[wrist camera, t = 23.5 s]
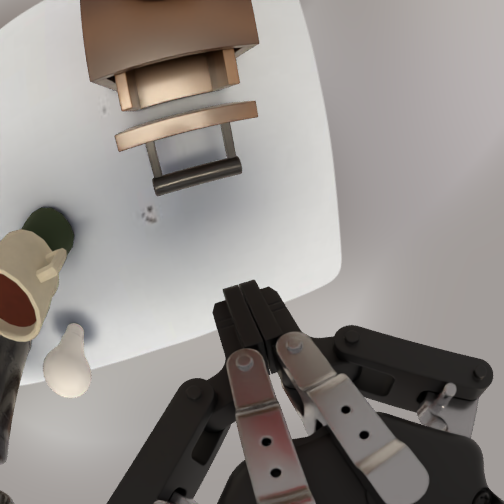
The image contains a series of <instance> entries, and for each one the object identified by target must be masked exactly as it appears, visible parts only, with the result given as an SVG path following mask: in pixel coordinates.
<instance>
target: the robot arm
mask: <svg viewBox="0 0 504 504" xmlns="http://www.w3.org/2000/svg"><path fill="white" fill-rule="evenodd" d="M223 293H224V296H225V301H222V302H218V303H215V305H214V309H213V316H214V319H215V323H216V326H217V329H218V333H219V336H220V340H221V343H222V346H223V349H224V353H225V357H226V360H225V365H224V366H223V368H222V370H221V371H220V372H219V373H218V374H216V375H215V376H214V377H212V378H210V379H208V380H204V379H201V378H195V379H190V380H188V381H186V382H184V383H183V384H182V385H181V386H180V387H179V389H178V391H177V392H176V394H175V395H174V397H173V399H172V400H171V402H170V404H169V405H168V407H167V408H166V410H165V412H164V413H163V415H162V416H161V418H160V420H159V421H158V423H157V424H156V426H155V428H154V429H153V431H152V432H151V434H150V436H149V437H148V439H147V441H146V442H145V444H144V445H143V447H142V448H141V450H140V452H139V453H138V455H137V457H136V458H135V460H134V461H133V463H132V465H131V466H130V468H129V469H128V471H127V472H126V474H125V476H124V477H123V479H122V480H121V482H120V483H119V485H118V487H117V488H116V490H115V491H114V493H113V495H112V496H111V498H110V499H109V501H108V502H107V504H198V503H197V502H196V501H194V500H193V497H194V496H195V494H196V492H197V490H198V489H199V487H200V484H201V483H202V481H203V479H204V477H205V476H206V474H207V472H208V470H209V468H210V466H211V464H212V462H213V460H214V458H215V456H216V454H217V452H218V450H219V449H220V447H221V445H222V443H223V440H224V438H225V436H226V434H227V432H228V430H229V428H230V426H231V424H232V423H233V422H235V421H236V423H237V427H238V431H239V436H240V440H241V444H242V448H243V452H244V456H245V460H244V461H243V462H241V464H239V465H238V466H237V467H236V469H235V470H234V471H233V472H232V474H231V475H230V477H229V479H228V481H227V483H226V486H225V488H224V490H223V492H222V494H221V496H220V499H219V501H218V503H217V504H504V501H503V500H501V499H500V498H499V497H497V496H496V495H495V494H494V493H493V492H492V491H491V490H490V489H489V488H488V486H487V483H486V479H485V474H484V462H483V454H482V451H481V449H480V447H479V446H478V445H477V443H476V442H475V441H474V440H472V439H471V435H472V431H473V426H474V421H475V416H476V411H477V405H478V399H479V397H480V396H481V394H482V393H483V392H484V391H485V390H486V389H487V387H488V386H489V385H490V384H491V382H492V379H493V371H492V368H491V367H490V365H489V364H488V363H487V362H486V361H484V360H482V359H478V358H474V357H469V356H466V355H461V354H457V353H453V352H449V351H445V350H442V349H437V348H434V347H430V346H426V345H422V344H419V343H415V342H411V341H407V340H404V339H400V338H396V337H393V336H390V335H386V334H382V333H379V332H376V331H372V330H369V329H365V328H362V327H359V326H354V325H349V326H345V327H342V328H341V329H339V330H338V331H337V332H336V334H335V336H334V337H326V338H313V337H309V336H308V335H306V334H304V333H303V332H301V330H300V329H299V327H298V326H297V324H296V322H295V321H294V319H293V317H292V316H291V314H290V312H289V311H288V309H287V308H286V306H285V304H284V302H283V301H282V299H281V298H280V296H279V294H278V293H277V292H276V291H275V290H273V289H272V288H270V287H266V288H263V289H259V287H258V285H257V283H256V281H255V280H251V281H248V282H244V283H241V284H239V286H238V285H235V286H232V287H228V288H225V289H223ZM30 348H31V341H26V342H19V341H14V340H11V339H8V338H5V337H4V336H2V335H0V464H4V463H5V462H6V460H7V455H8V445H9V437H10V430H11V423H12V417H13V412H14V406H15V402H16V397H17V393H18V388H19V384H20V380H21V376H22V373H23V369H24V366H25V362H26V359H27V356H28V353H29V351H30ZM269 369H270V371H271V373H272V374H273V373H276V372H278V374H279V377H280V379H281V384H282V387H283V389H284V391H285V392H286V394H287V396H288V398H289V399H290V401H291V403H292V405H293V406H294V408H295V410H296V411H297V413H298V415H299V416H300V418H301V420H302V422H303V424H304V427H305V430H306V432H307V434H308V437H305V438H298V439H291V436H290V433H289V430H288V427H287V424H286V421H285V418H284V416H283V413H282V410H281V407H280V404H279V402H278V401H277V398H276V395H275V392H274V389H273V386H272V383H271V380H270V377H269V375H270V371H269ZM364 397H366V398H369V399H372V400H376V401H379V402H382V403H385V404H388V405H392V406H395V407H399V408H402V409H405V410H409V411H413V412H417V414H418V418H419V420H420V422H421V424H423V425H421V424H418V423H415V422H411V421H408V420H405V419H402V418H399V417H396V416H393V415H390V414H387V413H382V412H375V411H374V409H373V408H372V407H371V406H370V404H369V403H368V402H367V400H366V399H365V398H364ZM425 425H426V426H425ZM0 504H14V502H13V500H12V499H11V498H10V496H9V495H7V494H6V493H4V492H2V491H0Z"/></svg>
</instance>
